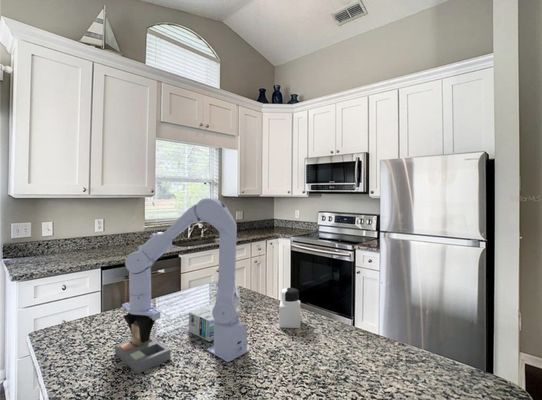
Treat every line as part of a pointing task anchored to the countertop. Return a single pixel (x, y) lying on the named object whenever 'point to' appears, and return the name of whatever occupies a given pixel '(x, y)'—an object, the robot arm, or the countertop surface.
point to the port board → (148, 351)
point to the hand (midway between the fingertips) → (140, 339)
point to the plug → (137, 336)
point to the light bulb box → (202, 322)
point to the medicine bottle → (289, 308)
